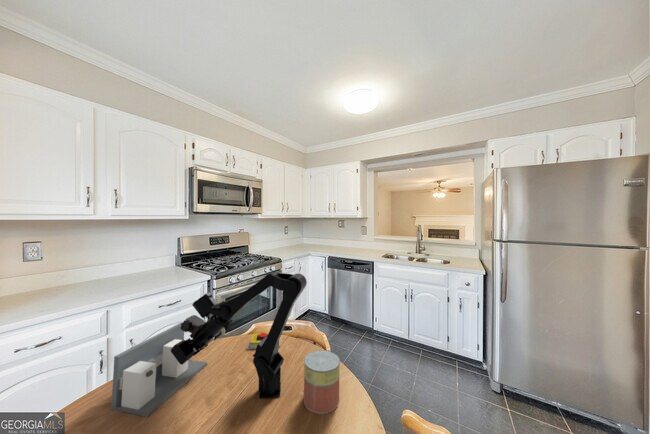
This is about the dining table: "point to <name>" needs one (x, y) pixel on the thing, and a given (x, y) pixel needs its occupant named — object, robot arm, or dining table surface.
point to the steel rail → (155, 360)
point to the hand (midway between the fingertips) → (183, 356)
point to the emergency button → (256, 340)
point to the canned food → (321, 381)
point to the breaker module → (172, 361)
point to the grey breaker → (138, 385)
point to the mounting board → (162, 383)
